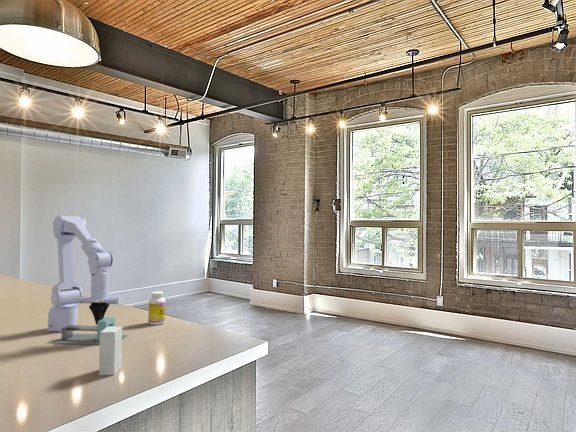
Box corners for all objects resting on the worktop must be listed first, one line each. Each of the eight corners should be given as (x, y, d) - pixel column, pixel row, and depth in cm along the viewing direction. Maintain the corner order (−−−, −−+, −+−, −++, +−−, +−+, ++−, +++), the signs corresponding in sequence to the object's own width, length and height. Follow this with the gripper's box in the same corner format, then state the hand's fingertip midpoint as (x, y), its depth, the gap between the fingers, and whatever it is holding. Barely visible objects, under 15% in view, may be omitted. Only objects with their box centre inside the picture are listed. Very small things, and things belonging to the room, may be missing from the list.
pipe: (61, 340, 137) (61, 326, 137) (68, 337, 141) (68, 323, 141) (116, 342, 137) (116, 327, 137) (121, 338, 141) (121, 324, 141)
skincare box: (106, 367, 113) (107, 326, 113) (121, 367, 114) (122, 326, 114) (98, 375, 107) (99, 332, 107) (114, 375, 108) (115, 331, 108)
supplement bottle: (159, 325, 159) (160, 294, 159) (145, 324, 160) (145, 293, 160) (168, 321, 165) (168, 291, 165) (153, 320, 166) (154, 290, 167)
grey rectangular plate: (53, 343, 134) (53, 342, 134) (72, 334, 145) (72, 333, 145) (112, 345, 133) (112, 344, 133) (127, 335, 144) (127, 335, 144)
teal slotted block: (96, 341, 135) (97, 321, 136) (106, 335, 142) (107, 316, 142) (105, 341, 135) (105, 321, 135) (114, 335, 142) (115, 316, 142)
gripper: (73, 287, 135) (72, 326, 135) (114, 288, 135) (113, 327, 135) (84, 284, 142) (83, 321, 142) (123, 284, 142) (123, 322, 142)
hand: (99, 324), depth 139 cm, fingers closed
